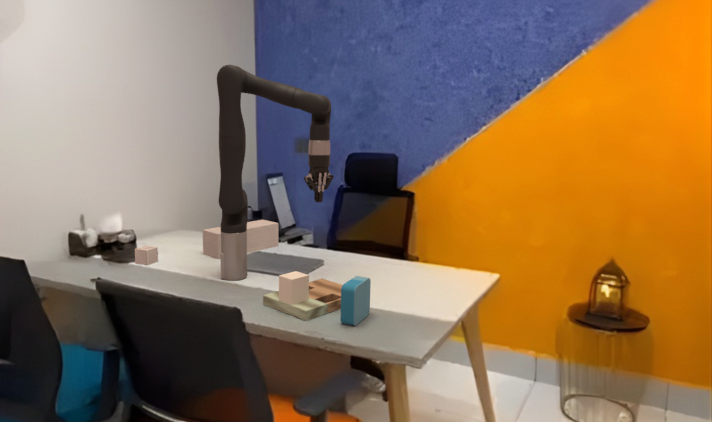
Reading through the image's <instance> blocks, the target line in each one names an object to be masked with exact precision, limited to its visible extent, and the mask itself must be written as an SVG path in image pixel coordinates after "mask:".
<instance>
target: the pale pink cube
mask: <svg viewBox="0 0 712 422" xmlns="http://www.w3.org/2000/svg"><path fill="white" fill-rule="evenodd" d="M134 262H135V264H136V265H143V266H150V265H153V264H156V263H158V262H159V250H158V246H152V245H151V246H150V245H144V246H140V247H137V248H135V249H134Z"/></svg>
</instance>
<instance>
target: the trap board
mask: <svg viewBox="0 0 712 422" xmlns="http://www.w3.org/2000/svg"><path fill="white" fill-rule="evenodd" d="M342 285H343V284H341V283H337V282H334V281H331V280H329V279H328V280H327V279H325V278H319V279H316V280H312V281H309V300H307V301H304V302H300V303H297V304H294V305H290V304H287V303H285V302H282V301H279V290H277V291H273V292H270V293H266V294H263V295H262V297H263V298H262V302H263V303H262V304H263V305H264V306H267V307H269V308H272V309H274V310H278V311H280V312H283V313H284V314H285V313H286V314H287V315H290V316H293V317H295V318H297V319H300V320H303V321H309V320H312V319H315V318H318V317H321V316H324V315H327V314H330V313H333V312H334V311H338V310H341V288H342Z"/></svg>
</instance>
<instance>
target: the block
mask: <svg viewBox="0 0 712 422" xmlns="http://www.w3.org/2000/svg"><path fill="white" fill-rule="evenodd" d="M309 282H310V275H309V274H307V273H303V272H300V271H298V270H297V271H296V270H295V271H292V272H288V273H283V274H280V275H278V291H279V301H282V302H285V303H287V304H290V305H294V304H297V303H300V302H304V301H307V300H309Z"/></svg>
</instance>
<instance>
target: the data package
mask: <svg viewBox="0 0 712 422" xmlns="http://www.w3.org/2000/svg"><path fill="white" fill-rule="evenodd" d="M371 282H372V281H371V278H370V277H367V276H365V277H364V276H359V275H355V276H354V277H353V278H351V279H350V280H347V281H346V282H345V283H343V284H341V285H342V288H341V309H340V323H341V324H344V325H349V326H355V327H356V326H357V325H359V323H361V322H362V321H363V320H365V318H366V317H368V316H369V314H370V309H371V307H370V306H371V285H372V284H371Z"/></svg>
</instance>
